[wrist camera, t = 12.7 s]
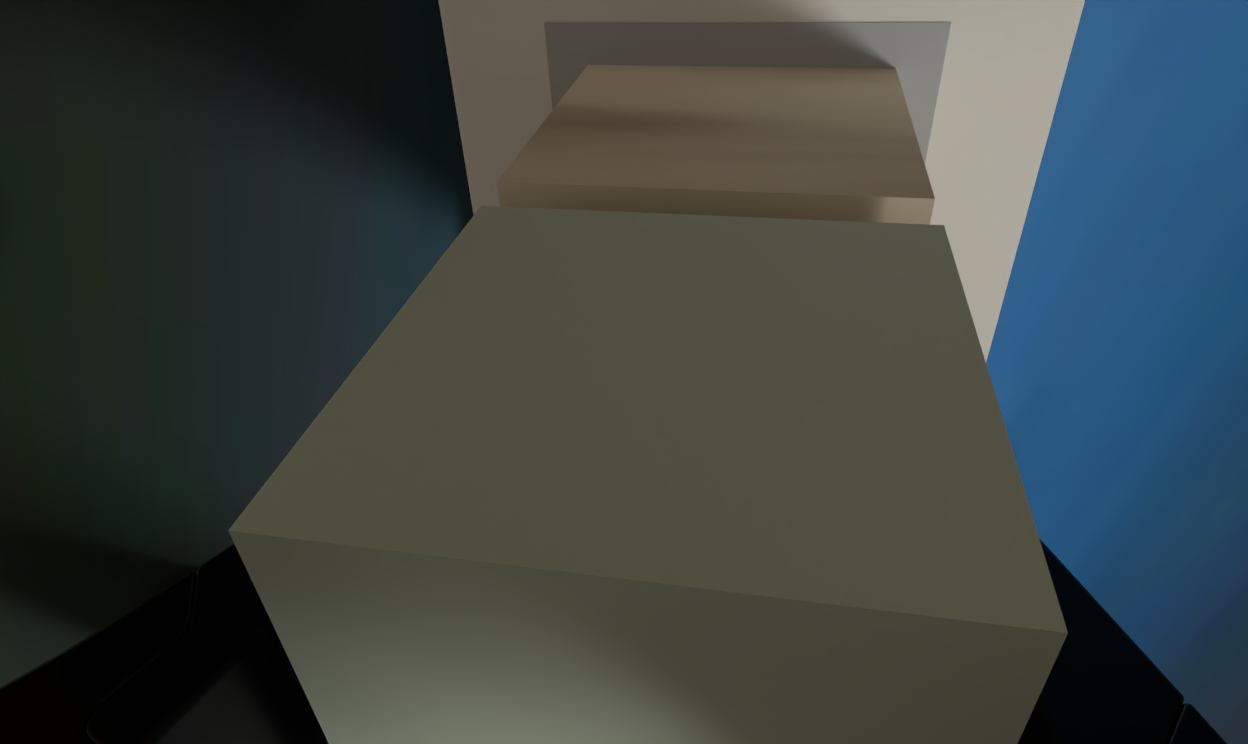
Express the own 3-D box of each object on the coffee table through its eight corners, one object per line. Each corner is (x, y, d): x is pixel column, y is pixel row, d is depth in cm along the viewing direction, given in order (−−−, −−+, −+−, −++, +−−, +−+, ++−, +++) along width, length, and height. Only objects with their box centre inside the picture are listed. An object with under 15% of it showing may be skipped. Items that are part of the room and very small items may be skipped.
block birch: (854, 332, 16) (869, 520, 12) (603, 315, 16) (538, 485, 13) (895, 68, 13) (935, 198, 9) (587, 64, 14) (496, 181, 10)
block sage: (875, 554, 11) (910, 977, 7) (529, 516, 12) (392, 876, 8) (944, 225, 8) (1067, 632, 4) (481, 205, 9) (227, 531, 5)
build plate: (958, 417, 17) (964, 442, 17) (514, 382, 19) (503, 403, 18) (1101, -127, 11) (1118, -121, 11) (440, -106, 13) (421, -100, 13)
